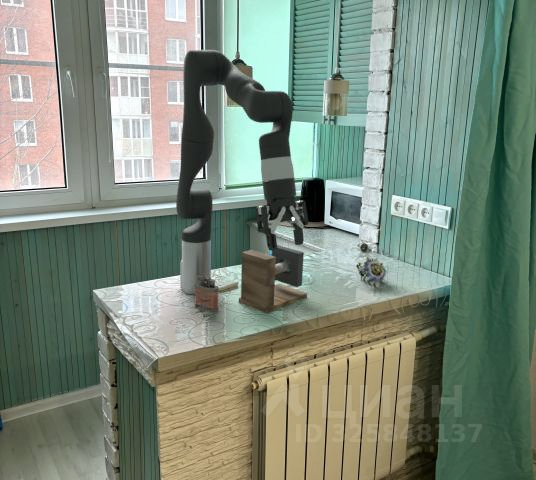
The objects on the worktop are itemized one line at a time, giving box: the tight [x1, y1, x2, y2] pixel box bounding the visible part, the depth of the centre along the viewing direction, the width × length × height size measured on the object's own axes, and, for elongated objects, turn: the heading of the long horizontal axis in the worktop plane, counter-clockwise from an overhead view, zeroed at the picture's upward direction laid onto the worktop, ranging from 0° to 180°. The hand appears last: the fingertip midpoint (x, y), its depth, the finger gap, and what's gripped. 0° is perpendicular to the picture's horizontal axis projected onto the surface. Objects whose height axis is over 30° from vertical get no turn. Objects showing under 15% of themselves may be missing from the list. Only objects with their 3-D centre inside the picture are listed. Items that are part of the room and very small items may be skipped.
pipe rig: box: [238, 249, 308, 315], centre depth 164 cm, size 20×12×16 cm, turn 138°
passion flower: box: [356, 255, 389, 289], centre depth 182 cm, size 11×11×12 cm
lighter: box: [194, 276, 220, 314], centre depth 155 cm, size 8×3×10 cm, turn 59°
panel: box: [272, 244, 305, 288], centre depth 167 cm, size 2×11×11 cm, turn 48°
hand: (286, 247), depth 123 cm, fingers open, 8 cm apart
